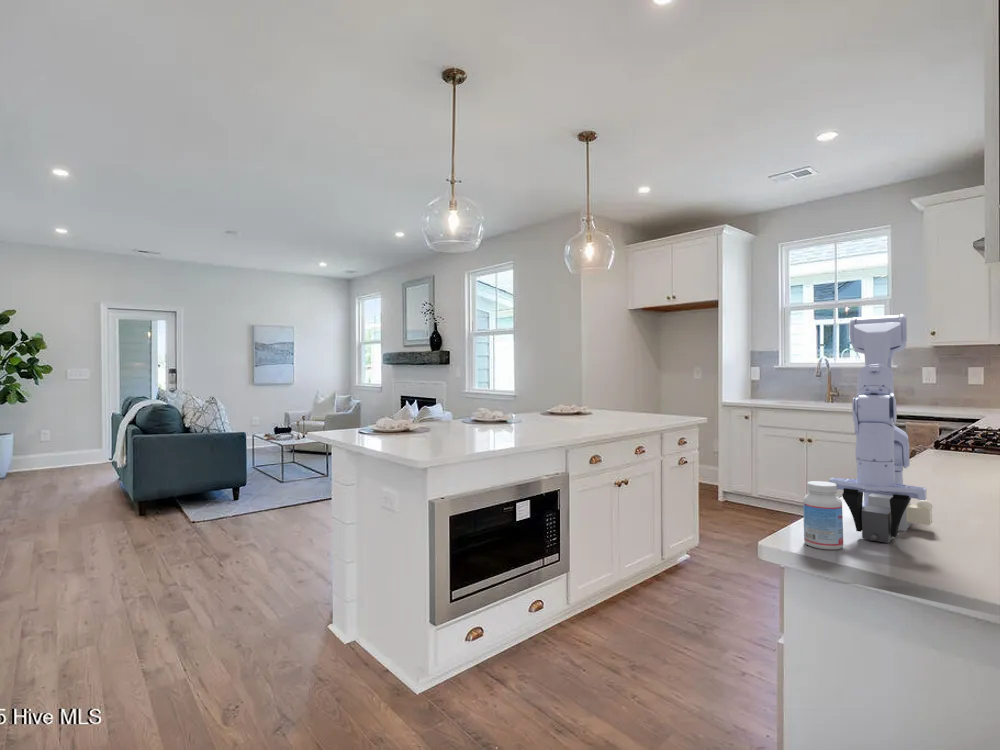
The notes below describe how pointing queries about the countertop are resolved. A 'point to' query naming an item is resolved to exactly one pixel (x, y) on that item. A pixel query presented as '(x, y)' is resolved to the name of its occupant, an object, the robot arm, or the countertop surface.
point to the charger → (876, 524)
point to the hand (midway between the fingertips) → (876, 533)
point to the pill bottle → (823, 516)
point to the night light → (920, 512)
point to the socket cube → (884, 502)
